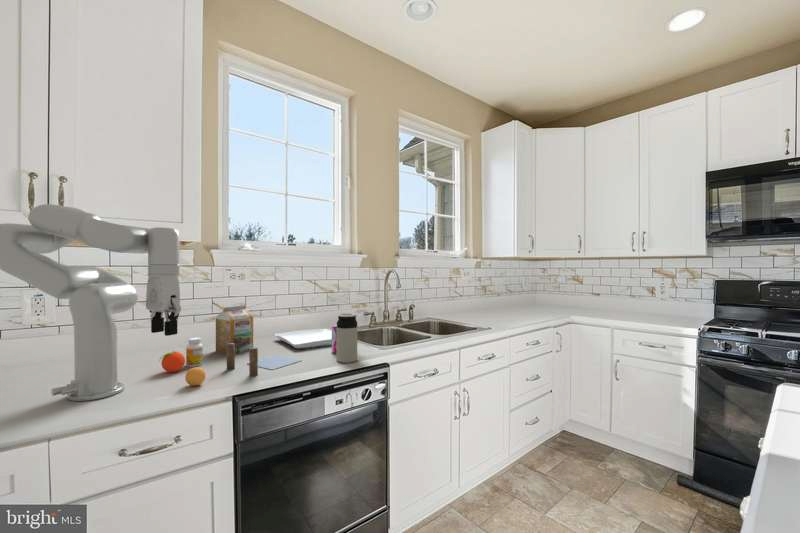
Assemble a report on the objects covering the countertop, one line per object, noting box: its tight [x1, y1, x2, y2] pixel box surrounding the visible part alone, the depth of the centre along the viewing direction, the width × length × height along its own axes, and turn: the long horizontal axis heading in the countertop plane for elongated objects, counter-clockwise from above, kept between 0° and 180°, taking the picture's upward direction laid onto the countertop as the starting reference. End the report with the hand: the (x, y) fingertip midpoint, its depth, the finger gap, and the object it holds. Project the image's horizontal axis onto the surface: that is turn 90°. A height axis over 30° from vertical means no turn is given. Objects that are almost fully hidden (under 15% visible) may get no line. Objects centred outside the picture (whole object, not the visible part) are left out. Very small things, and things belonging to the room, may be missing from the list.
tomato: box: [158, 350, 186, 373], centre depth 126 cm, size 8×7×7 cm
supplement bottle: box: [185, 337, 204, 368], centre depth 134 cm, size 5×5×10 cm
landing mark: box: [246, 354, 303, 371], centre depth 138 cm, size 14×14×1 cm
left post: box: [226, 343, 236, 371], centre depth 130 cm, size 3×3×9 cm
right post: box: [248, 347, 259, 377], centre depth 123 cm, size 3×3×9 cm
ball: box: [185, 366, 206, 387], centre depth 113 cm, size 6×6×6 cm
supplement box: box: [331, 324, 337, 355], centre depth 154 cm, size 6×6×12 cm
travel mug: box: [336, 312, 358, 364], centre depth 142 cm, size 8×8×18 cm
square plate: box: [274, 328, 332, 349], centre depth 174 cm, size 27×27×4 cm
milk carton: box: [215, 304, 254, 355], centre depth 156 cm, size 11×11×19 cm
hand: (164, 332), depth 105 cm, fingers open, 6 cm apart
